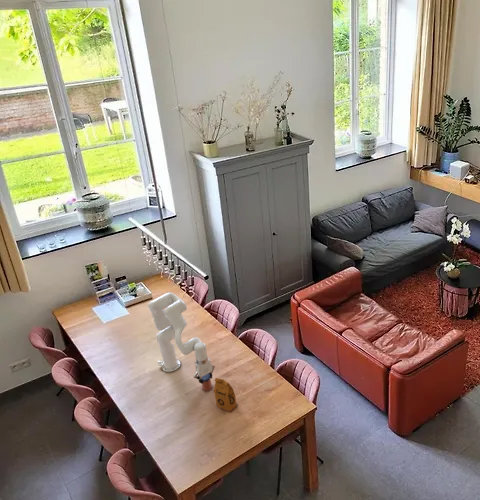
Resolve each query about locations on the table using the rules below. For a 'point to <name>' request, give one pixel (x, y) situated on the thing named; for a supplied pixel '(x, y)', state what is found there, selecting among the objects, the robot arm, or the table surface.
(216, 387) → the coffee package
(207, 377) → the lid
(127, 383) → the table surface
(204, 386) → the jar
